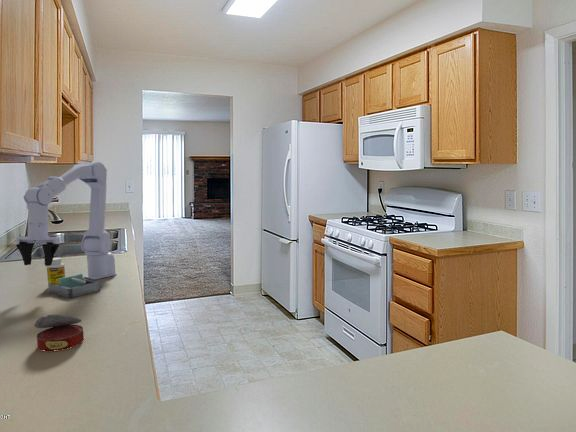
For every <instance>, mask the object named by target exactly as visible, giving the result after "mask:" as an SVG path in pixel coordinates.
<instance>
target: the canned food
mask: <svg viewBox="0 0 576 432" xmlns="http://www.w3.org/2000/svg"><path fill="white" fill-rule="evenodd" d="M81 322H82V319H79V318H78V317H74V316H71V315H70V316H68V315H62V314H47V315H46V316H41V317H39V318H38V319H37V320H36V322H35V323H34V327H35V328H37V329H43V330H41V331H39V332H38V333H37V334H36V343H37V349H38V348H39V349H40V350H45V351H54V350H62V349H67V348H70V347H73V346H76V345H78V344H80V343H81V342H82V341H83V340H84V341H85V338H84V335H85V334H84V328H83V326H82V325H79V324H78V323H81ZM84 341H83V342H84ZM83 342H82V343H83ZM82 343H81V344H82ZM81 344H80V345H81ZM78 346H79V345H78ZM76 347H77V346H76ZM73 348H74V347H73ZM39 349H38V350H39ZM70 349H71V348H70ZM40 350H39V351H40ZM67 350H68V349H67ZM62 351H63V350H62Z"/></svg>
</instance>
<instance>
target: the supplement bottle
mask: <svg viewBox="0 0 576 432" xmlns="http://www.w3.org/2000/svg"><path fill="white" fill-rule="evenodd" d="M65 269H66V268H65V264H64V262H63V261H62V257H53V260H52V264H51V265H50V266H46V275H47V286H48V287H47V288H49V285H48V284H50V283H53V284H57V285H59V278H64V277H66V272H65V271H66V270H65Z"/></svg>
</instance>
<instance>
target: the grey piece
mask: <svg viewBox="0 0 576 432" xmlns="http://www.w3.org/2000/svg"><path fill="white" fill-rule="evenodd" d="M83 280H85V281H86V283H85V284H84V283H83V285H82V286H78V287H73V288H68V287H64V286H61V285H57V284H53V283H50V284H48V283H47V286H48V285H49V287H48V292H49V293H50V294H53V295H56V296H57V295H58V296H60V297H65V298H67V299H73V298H76V297H82V296H85V295H88V294H93V293H97V292H100V291H101V283H100V281H96V280H94V279H89V278H85V277H83Z"/></svg>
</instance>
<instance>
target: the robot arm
mask: <svg viewBox="0 0 576 432" xmlns="http://www.w3.org/2000/svg"><path fill="white" fill-rule="evenodd" d="M107 172H108V169H107V167H106V166H105V165H104V164H103V163H102V162H100V161H97V162H78V163H76V164H74V165H73V166H72V167H70V169H69V170H67V171H66V172H64V173H62V174H61V175H60V176H56V175H55V176H52V175H51V176H48V177H47V180H46V181H44V182H41V183H37V186H36V187H29V188H28V189H27V190H26V191H25V193H24V195H23V200H24V202H25V204H26V208H27V236H16V239H15V242H16V244H15V245H16V248H17V250H18V251H19V252H20V255H21V257H22V260H23V263H24V264H23V265H24V266H29V265H32V255H33V254H32V253H33V249H34V246H35V244H41V246H42V250H43V253H44V255H43V256H44V266H45V267H47V266H50V265H51V264H52V260H53V258H55V255H56V252H57V250H58V249H59V247H60V244H61V237H54V236H49V205H50V204H51V203H52V202H53V199H54V198H55V197H56V196H58V195H60V194H61V193H63V192H64V191H65V190H66V188H67V187H66V186H67V185H69V184H71V183H73V182H74V181H76V180H80V181H81V182H83V183H85V185H88V187H89V188H90V200H89V201H90V202H89V203H90V204H89V205H90V206H89V218H88V219H89V221H88V222H89V223H88V229H87V230H86V231H85V232H84V233H83V237H82V240H81V243H80V248H81V250H82V251H83V252H84V255H86V261H87V263H86V264H87V275H86V274H85V275H84V276H83V278H84V279H88V280H93V281H96V280H99V279H104V278H108V277H112V276H116V275H117V272H116V262H115V256H114V254H113V253H112V252H110V251H111V249H112V242H111V234H110V233H109V232H108V231H107V230H105V223H106V221H105V218H106V204H107V203H106V201H107Z"/></svg>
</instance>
